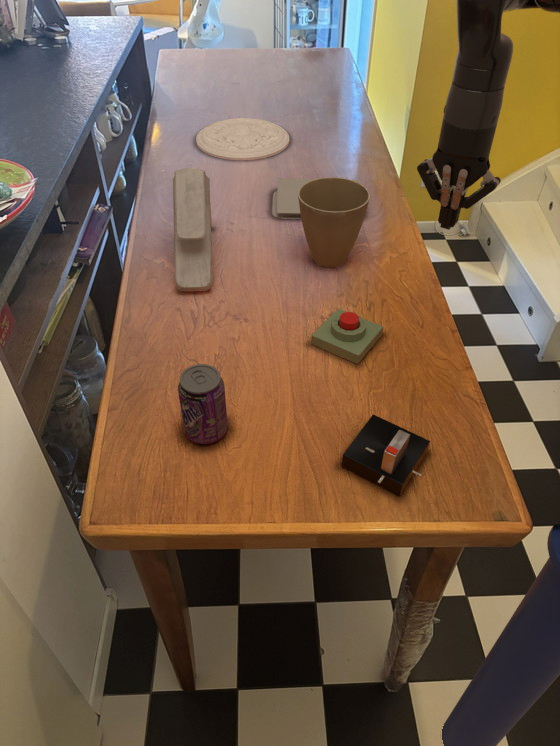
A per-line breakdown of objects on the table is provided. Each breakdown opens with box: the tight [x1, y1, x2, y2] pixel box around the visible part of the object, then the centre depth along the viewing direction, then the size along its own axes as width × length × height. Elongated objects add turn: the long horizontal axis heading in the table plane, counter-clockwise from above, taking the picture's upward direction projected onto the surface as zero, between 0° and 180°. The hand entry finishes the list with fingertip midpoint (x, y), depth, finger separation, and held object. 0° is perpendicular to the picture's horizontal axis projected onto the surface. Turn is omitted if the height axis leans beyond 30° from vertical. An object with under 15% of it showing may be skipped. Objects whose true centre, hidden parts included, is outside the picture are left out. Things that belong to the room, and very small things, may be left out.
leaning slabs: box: [172, 167, 213, 292], centre depth 132 cm, size 8×24×23 cm
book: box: [271, 178, 359, 220], centre depth 152 cm, size 15×23×4 cm, turn 89°
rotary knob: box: [380, 430, 410, 475], centre depth 89 cm, size 5×2×5 cm, turn 146°
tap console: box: [341, 414, 431, 497], centre depth 93 cm, size 12×12×3 cm
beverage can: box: [177, 363, 228, 445], centre depth 94 cm, size 7×7×12 cm
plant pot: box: [298, 176, 371, 269], centre depth 130 cm, size 15×15×16 cm
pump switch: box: [311, 308, 384, 365], centre depth 114 cm, size 10×10×4 cm
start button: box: [339, 311, 360, 331], centre depth 112 cm, size 4×4×2 cm
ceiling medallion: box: [195, 117, 290, 161], centre depth 180 cm, size 28×28×3 cm
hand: (446, 226), depth 97 cm, fingers closed
